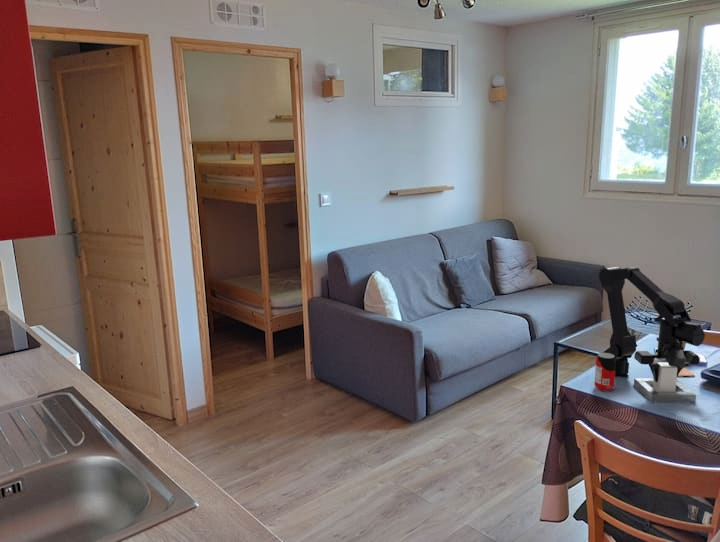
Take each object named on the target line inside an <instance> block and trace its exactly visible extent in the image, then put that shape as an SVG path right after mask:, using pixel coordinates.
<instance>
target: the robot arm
mask: <svg viewBox="0 0 720 542" xmlns="http://www.w3.org/2000/svg"><path fill="white" fill-rule="evenodd" d="M598 278H599V282H600V285H601V287H602V289H603V290H604V291H605V293H606V296H607V302H608V308H609V315H610V323H611V327H612V333H611V336H610V339H609V347H607V348H606V349H605V350H604V351H602V353H610V354H613V355H614V356H615V357H614V358H615V360H616V371H615V378H629V377H630V376H629V370H630V369H629V368H630V362H629V359H630V358H632V357H634V360H635V361H637V362H638V363H639V364H641V365H648V366H649V369H650V372H651V374H652V378H654V380H655V382H658V370H659V367H660V365H659V364H658V362H659V361H667V362H668V364H669V365H670V366H673V367H674V366H676V367H677V376H678V374H679V373H680V371H681V370H682V369H683V368H687V367H690V365H700V364H701V363H700V362H701V358H700V356H699V355H698V354H697V353H695V352H694V351H692V350H685V349H684V350H681V348H680V343H679V342H678V340H679V341H681V342H684V343H686V344H688V345H691V346H693V347H694V346H695V347H700V346H701V345H702V344H703V342H704V340H705V336H706V334H705V331H704V330H703V329H702V324H700V323H693V322H692V320H691V317H690V315H689V313H688V311H687V310H686V308H685V303H684V302H683V301H682V300H681V299H680V298H677V297H676V296H674V295H673V294H670V293H667V292H665V291H663V290H662V289H661V288H660V287H659V286H657V284H656V283H654V282H653V281H652V280H651V279H650V278H649V277H647V276H646V275H645V274H644V273H643V272H641V269H640V268H639V267H636V266H630V267H625V268H621V267H619V266H611V267H604V268H602V269H601V270H600V271H599V273H598ZM626 280H627V281H628V282H630V284H632V285H633V286H634V287H635V288H636V289H637V290H639V292H641V293H642V294H643V295H644V296H645V297H646V298H647V299H648V300H650V302H651V303H652V306H653V309H654V310H655V311H656V313H657V314H658V316H657V317H656V318H654V319H653V322H655V323H656V322H657V323H659V329H658V330H659V331H658V336H657V337H656V341H657V348H656V349H655V354H653V353H651V352H649V351H648V350H637V347H638V344H637V339H636V335H635V334H633V335H632V334H631V333H630V331H629V330H628V324H627V323H628V322H627V317H626V309H625V304H624V298H623V297H624V296H623V289H624V286H625V283H626ZM633 355H634V356H633Z"/></svg>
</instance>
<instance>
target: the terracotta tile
mask: <svg viewBox="0 0 720 542" xmlns="http://www.w3.org/2000/svg"><path fill="white" fill-rule="evenodd" d="M683 376H694V377H693V378H695V377H696V375H695V374H694V373H692V372H691V371H690V370H689V369H687V367H684V368H683V369H682V370H681V371H680V373H679V374H678V376H677V378H681V377H683ZM683 378H684V377H683Z"/></svg>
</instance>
